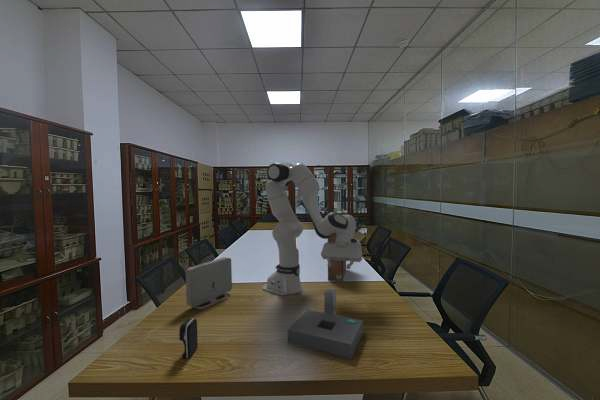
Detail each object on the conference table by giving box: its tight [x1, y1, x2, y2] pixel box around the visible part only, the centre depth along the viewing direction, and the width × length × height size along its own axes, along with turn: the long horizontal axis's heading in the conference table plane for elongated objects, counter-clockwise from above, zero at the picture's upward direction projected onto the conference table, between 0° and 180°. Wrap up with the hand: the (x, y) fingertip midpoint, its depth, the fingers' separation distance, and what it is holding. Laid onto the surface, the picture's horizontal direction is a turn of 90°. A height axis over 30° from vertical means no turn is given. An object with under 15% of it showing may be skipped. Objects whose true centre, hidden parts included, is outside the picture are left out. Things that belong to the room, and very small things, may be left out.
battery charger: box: [178, 318, 199, 359], centre depth 96 cm, size 7×4×11 cm, turn 177°
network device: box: [185, 256, 233, 310], centre depth 140 cm, size 26×9×20 cm, turn 148°
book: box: [327, 233, 347, 282], centre depth 179 cm, size 25×9×30 cm, turn 166°
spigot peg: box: [323, 288, 337, 315], centre depth 121 cm, size 4×4×12 cm
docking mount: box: [287, 309, 364, 360], centre depth 105 cm, size 24×18×5 cm
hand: (338, 267), depth 130 cm, fingers open, 8 cm apart
